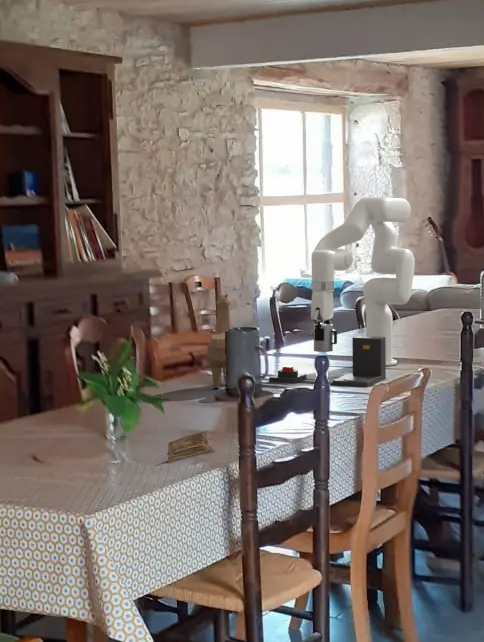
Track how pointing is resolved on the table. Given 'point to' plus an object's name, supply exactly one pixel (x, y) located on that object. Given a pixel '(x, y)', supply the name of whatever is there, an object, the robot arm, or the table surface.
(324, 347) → the kettle
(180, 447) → the wood plank
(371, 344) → the coffee maker
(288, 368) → the power button
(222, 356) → the toy
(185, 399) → the table surface
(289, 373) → the switch block
